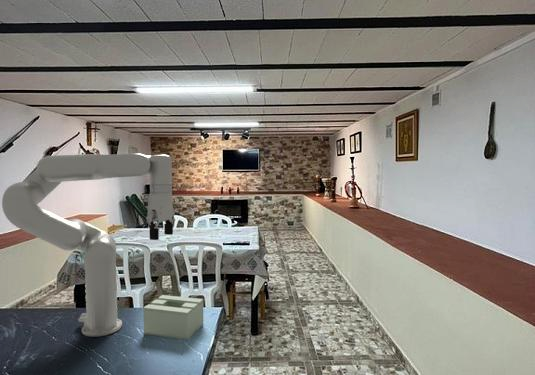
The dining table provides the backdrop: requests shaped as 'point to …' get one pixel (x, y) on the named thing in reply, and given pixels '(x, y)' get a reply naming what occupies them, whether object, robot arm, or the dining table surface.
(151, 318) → the box
